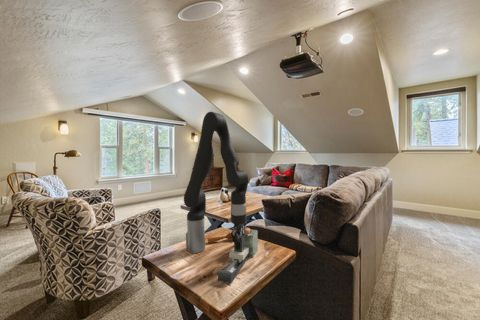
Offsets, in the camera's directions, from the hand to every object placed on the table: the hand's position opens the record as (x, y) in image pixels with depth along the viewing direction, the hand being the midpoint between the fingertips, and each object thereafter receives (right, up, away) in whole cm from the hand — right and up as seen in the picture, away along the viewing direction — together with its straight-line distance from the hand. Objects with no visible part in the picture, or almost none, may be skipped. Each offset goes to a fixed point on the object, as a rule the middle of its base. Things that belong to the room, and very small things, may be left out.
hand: (239, 247), depth 105 cm
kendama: (-9, -7, +25) cm, 27 cm away
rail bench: (0, -7, -1) cm, 7 cm away
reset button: (+4, +2, +10) cm, 11 cm away
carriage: (0, -5, 0) cm, 5 cm away
